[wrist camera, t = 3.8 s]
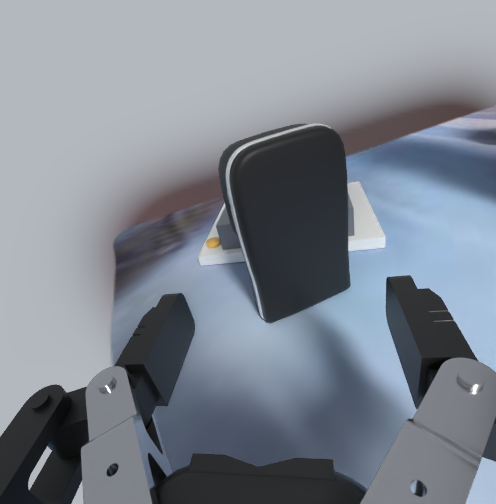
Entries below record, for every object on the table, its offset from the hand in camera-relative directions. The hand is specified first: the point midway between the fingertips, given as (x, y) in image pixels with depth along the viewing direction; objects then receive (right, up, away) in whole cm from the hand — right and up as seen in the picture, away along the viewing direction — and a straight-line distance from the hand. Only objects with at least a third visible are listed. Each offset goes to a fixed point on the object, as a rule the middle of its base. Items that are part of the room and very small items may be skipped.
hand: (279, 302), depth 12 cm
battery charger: (+2, -1, +10) cm, 11 cm away
